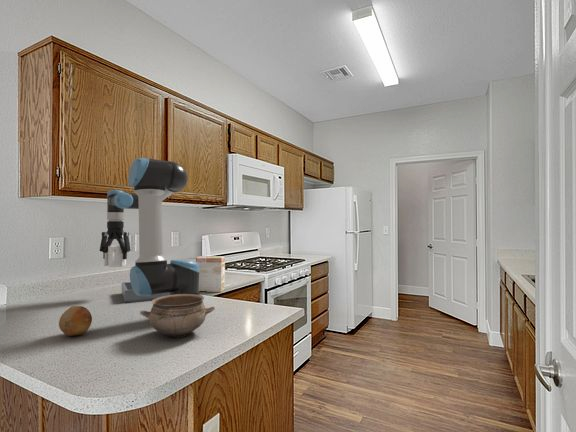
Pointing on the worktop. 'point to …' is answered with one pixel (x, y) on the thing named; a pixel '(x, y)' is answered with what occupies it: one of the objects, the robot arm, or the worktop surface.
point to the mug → (114, 256)
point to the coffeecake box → (211, 273)
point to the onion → (75, 321)
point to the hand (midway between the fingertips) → (114, 265)
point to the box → (131, 297)
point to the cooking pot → (177, 314)
